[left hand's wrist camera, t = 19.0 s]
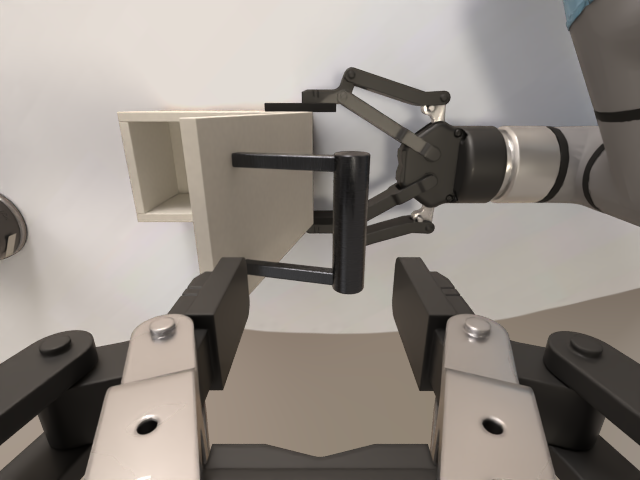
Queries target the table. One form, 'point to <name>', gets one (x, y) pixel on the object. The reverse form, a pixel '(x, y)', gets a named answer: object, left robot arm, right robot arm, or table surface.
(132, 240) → the table surface
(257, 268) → the lid
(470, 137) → the right robot arm
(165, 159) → the cream rectangular box
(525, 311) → the table surface
